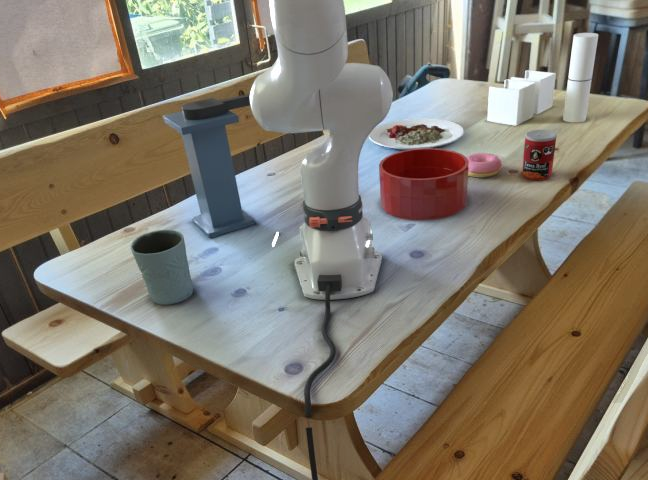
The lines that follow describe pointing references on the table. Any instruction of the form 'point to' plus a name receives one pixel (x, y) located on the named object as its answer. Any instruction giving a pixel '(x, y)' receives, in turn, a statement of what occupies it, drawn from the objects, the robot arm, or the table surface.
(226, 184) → the stand
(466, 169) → the pot
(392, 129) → the plated food
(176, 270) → the green cup
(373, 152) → the table surface
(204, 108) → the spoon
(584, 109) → the cylindrical container
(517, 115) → the storage container
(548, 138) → the canned food
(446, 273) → the table surface
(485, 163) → the doughnut
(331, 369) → the table surface
